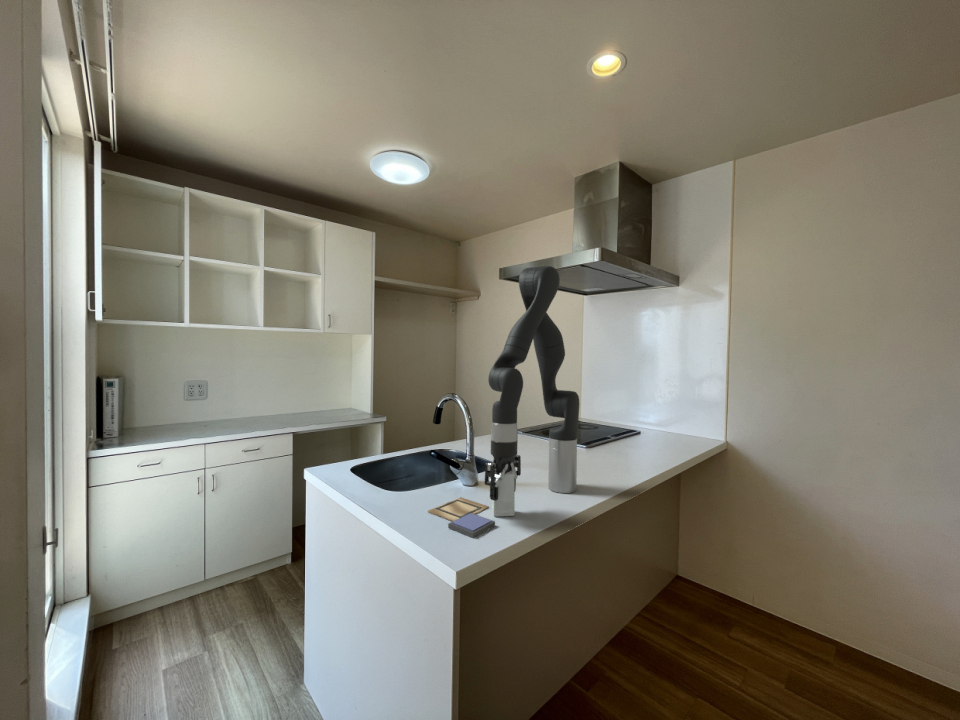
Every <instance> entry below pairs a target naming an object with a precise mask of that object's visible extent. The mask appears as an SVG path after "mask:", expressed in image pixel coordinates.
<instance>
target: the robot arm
mask: <svg viewBox="0 0 960 720" xmlns="http://www.w3.org/2000/svg"><path fill="white" fill-rule="evenodd" d="M518 277H519V278H518V287H519V292H520V295H521V299H522V302H523V305H524V309H525V312H524V313H523V314H522V315H521V316H520V317H519V318H518V320H517V321H515V323H514V325H513V326H512V327H511V329H510V331H509V333H508V335H507V338H506V341H505V344H504V346H503V349H502V352H501V353H500V354H499V355H498V357H497V358H496V360H495V362H494V363H493V365H492V366H491V368H490V371H489V374H488V378H487V379H488V385H489V387H490V389H492V390H493V391H495V392H498V393H499V392H500V393H501V394H500V399H499V400H497V401H494V403H493V404H492V411H491V412H492V413H491V418H492V420H491V428H490V429H491V430H490V455H491V456H492V457H493V460H492V462H486V463H485V467H484V470H485V472H484V485H485V486H489V499H490V500H491V501H492V500H494V501H496V500H498V484H499V482H500V480H502V479H503V476H504V474H505V473H507V472H510V471H513V473H514V484H515V491H516V489H517V485H516V484H517V479H518V476H521V471H522V470H521V469H522V466H521V464H522V463H521V461H522V459H521V458H522V456H521V454H518V439H519V438H518V435H519V433H518V432H519V431H518V430H519V429H518V407H519V404H520V401H521V396H522V392H523V389H524V378H523V376H522V373H521V372H520V370H519V369H517V368H516V367H517V366H518V365H520V364H523V363H524V362H525V361H526V359H527V357H528V354H529V351H530V349H531V345H532V343H533V345H534V346H533V347H534V352H535V355H536V361H537V365H538V370H539V373H540V374H539V375H540V381H541V388H542V397H543V405H544V409H545V412H546V414H547V415H548V416H549V417H553V418H559V419H560V418H561V419H564V420H563V424H560V425H559V426H555V427H551V428H550V429H549V431H548V479H547V480H548V485H547V486H548V489H549V490H550V491H551V492H555V493H560V494H570V493H571V494H572V493H575V492H576V491H577V484H578V483H577V476H578V475H577V474H578V473H577V471H578V470H577V469H578V467H577V466H578V459H577V458H578V454H577V453H578V430H579V418H580V417H579V415H580V397H579V395H578V393H577V392H576V391H575V390H574V391H573V390H562V389H557V384H556V378H557V375H558V372H559V370H560V368H561V367H562V364H563V362H564V360H565V357H566V348H565V343H564V338H563V334H562V332H561V331H560V329H559V327H558V326H557V324H556V323H555V321H553V320H552V318H551V317H550V316H549V314H548V313H547V312H548V310H549V307H550V306H551V304H552V303H553V301H554V298H555V297H556V295H557V293H558V290H559V287H560V281H561V280H560V275H559V272H558V270H557V269H556V268H555V267H553V266H549V265H544V266H534V267H533V266H532V267H526V268H523V269H522V270H521V272H520V274H519V276H518ZM495 473H497V474H499V475H495ZM495 479H496V481H495V482H494V480H495Z"/></svg>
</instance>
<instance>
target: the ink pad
mask: <svg viewBox="0 0 960 720" xmlns="http://www.w3.org/2000/svg"><path fill="white" fill-rule="evenodd" d="M447 526H448V527H447V528H448V529H450V530H452V531H454V532H456V533H459V534H462V535H464V536H466V537H469V538H472V539H475V538H476V537H477V536H480V535H482V534H483V533H484V532H487V531H488V530H490V529H493V528H494V527H496V521H495V520H492V519H490V518H486V517H484V516H480V515H478V514H473V513H469V514H467V515H465V516H463V517H461V518H459V519H457V520H455V521H453V522H452V521H450V522H448V523H447Z"/></svg>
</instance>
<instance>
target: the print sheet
mask: <svg viewBox="0 0 960 720" xmlns="http://www.w3.org/2000/svg"><path fill="white" fill-rule="evenodd" d="M489 508H490V507H489V505H487V504H483V503H480V502H477V501H473V500H470V499H467V498H465V497H461V496H460V497H457V498H455V499H453V500H451V501H448V502H446V503H443V504H441V505H438V506H436V507H434V508H431V509H429V510H427V513H429V514H432V515H433V516H437V517H439V518H442V519H444V520H446V521H448V522H449V521H450V522H453V521H455V520H457V519H459V518H461V517H463V516H465V515H467V514H469V513H473V514H476V515H478V514H479V513H481V512H483V511H485V510H488V509H489Z"/></svg>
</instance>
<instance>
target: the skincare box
mask: <svg viewBox="0 0 960 720" xmlns="http://www.w3.org/2000/svg"><path fill="white" fill-rule="evenodd" d="M495 475H499V474H497V473H495ZM495 481H496V479H495V480H494V482H495ZM515 492H516V490H515V484H514V473H513V471H510V472H507V473H505V474H504V476H503V479H502V480H500V482H499V484H498V500H496V501H494V500H491V506H492V507H491V509H492V510H491V511H492V514H493V517H496V518H498V517H515V515H516V514H515V513H516V512H515V507H516V506H515V505H516V504H515V502H516V501H515V498H516V497H515Z"/></svg>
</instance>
